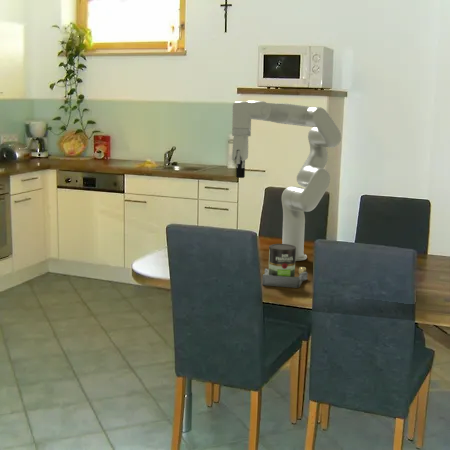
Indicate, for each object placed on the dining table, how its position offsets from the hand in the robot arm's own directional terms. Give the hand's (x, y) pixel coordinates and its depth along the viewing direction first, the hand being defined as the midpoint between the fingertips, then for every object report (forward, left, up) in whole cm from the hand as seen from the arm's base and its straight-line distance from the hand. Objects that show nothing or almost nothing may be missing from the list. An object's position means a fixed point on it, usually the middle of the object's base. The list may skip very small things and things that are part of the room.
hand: (240, 177), depth 281 cm
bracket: (+19, +22, -37) cm, 47 cm away
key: (+3, +27, -37) cm, 46 cm away
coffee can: (+20, +21, -37) cm, 47 cm away
